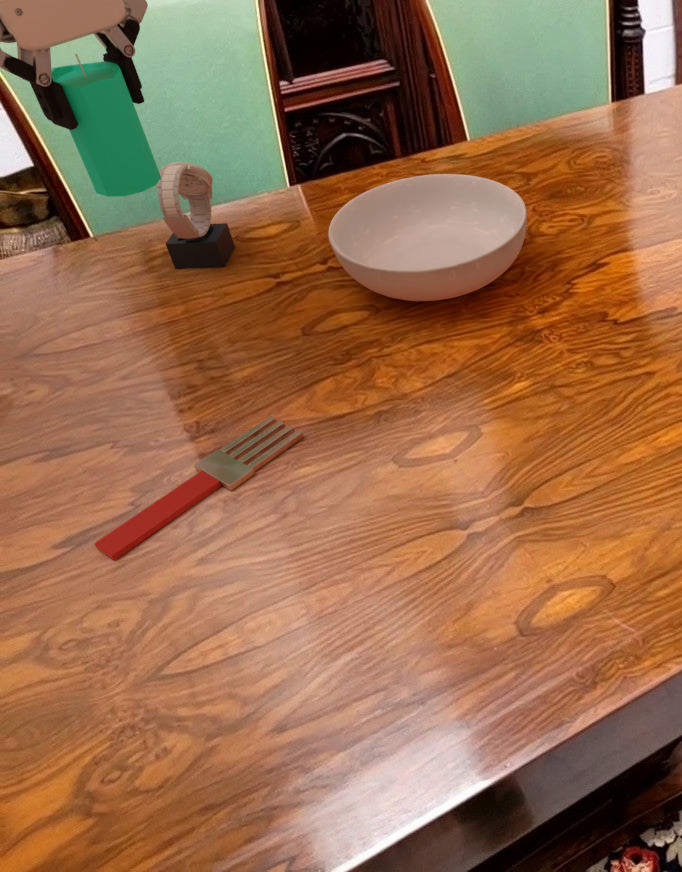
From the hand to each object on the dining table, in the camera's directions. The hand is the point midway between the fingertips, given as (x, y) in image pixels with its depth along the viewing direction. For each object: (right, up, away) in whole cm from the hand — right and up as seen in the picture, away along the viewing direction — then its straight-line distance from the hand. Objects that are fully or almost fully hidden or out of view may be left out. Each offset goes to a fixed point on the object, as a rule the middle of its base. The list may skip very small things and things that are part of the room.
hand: (98, 110), depth 85 cm
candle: (0, -5, +5) cm, 7 cm away
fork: (+12, -34, -6) cm, 36 cm away
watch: (-1, -9, +23) cm, 24 cm away
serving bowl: (+27, -12, +19) cm, 35 cm away
